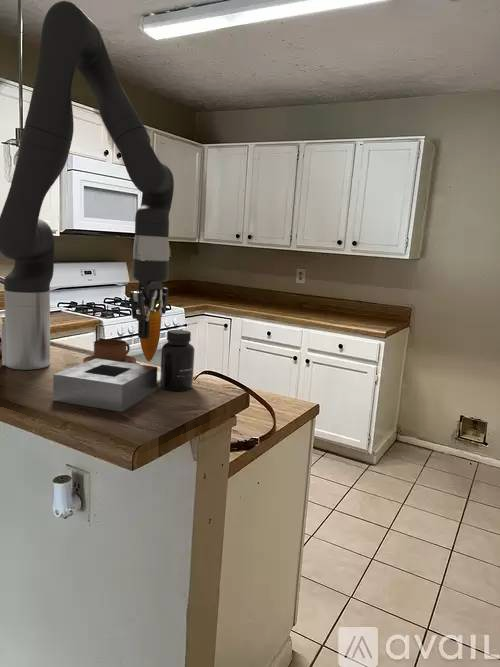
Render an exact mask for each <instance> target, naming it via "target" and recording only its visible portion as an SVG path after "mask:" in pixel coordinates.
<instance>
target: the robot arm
mask: <svg viewBox="0 0 500 667" xmlns="http://www.w3.org/2000/svg"><path fill="white" fill-rule="evenodd" d="M38 51H39V52H38V61H37V68H36V74H35V78H34V84H33V88H32V92H31V97H30V102H29V107H28V110H27V115H26V119H25V121H24V122H25V123H24V127H23V131H22V136H21V140H20V143H19V150H18V155H17V159H16V164H15V166H14V171H13V174H12V179H11V183H10V188H9V191H8V194H7V196H6V199H5V202H4V205H3V207H2V210H1V213H0V253H1V255H2V256H4V257H5V258H7V259H10V260H14V265H13V268H12V270H11V272H9V273H8V275H6V276H5V277H4V280H3V289H4V295H3V296H4V322H3V323H2V324H0V325H1V327H0V328H1V329H0V332H1V361H2V362H1V364H2V366H5V367H7V368H8V369H11V370H12V369H13V370H20V371H21V370H25V371H26V370H29V371H30V370H38V369H44V368H46V367H49V366H50V365H51V318H50V317H51V307H50V305H51V304H50V303H51V301H50V299H51V298H50V297H51V296H50V295H51V294H50V286H51V282H52V279H53V276H54V270H55V269H54V268H55V267H54V266H55V265H54V264H55V238H54V233H53V231H52V228H51V226H50V225H49V224H48V223H47V222H46V221H44V220H43V219H41V218H39V217H40V213H41V211H42V210H41V209H42V206H43V203H44V199H45V198H46V195H47V193H48V192H49V190H50V189H51V188H52V186H53V185H54V184H55V182H56V181H57V179H58V178H59V176H60V175H61V173H62V172H63V171H64V168H65V166H66V164H67V161H68V158H69V155H70V149H71V145H72V142H73V136H74V127H75V126H74V123H75V122H74V111H73V102H72V101H73V99H72V86H73V81H74V75H75V73H76V72H75V71H76V70H78V72H79V74H80V75H81V76H82V78H83V79H84V80H85V82H86V83H87V85H88V87H89V88H90V90H91V92H92V94H93V96H94V99H95V101H96V106H97V107H98V108H97V109H98V111H99V114H100V118H101V121H102V123H103V124H104V126H105V128H106V130H107V132H108V134H109V136H110V137H111V139H112V141H113V143H114V144H115V146H116V148H117V150H118V151H119V153H120V155H121V158H122V161H123V165H124V167H125V169H126V172H127V174H128V176H129V178H130V180H131V182H132V183H133V185H134V187H135V188H136V189H137V190H138V191H140V192H141V202H140V207H139V208H138V209H137V210H136V212H135V217H134V240H133V248H132V249H133V250H132V254H133V256H132V259H133V260H132V278H133V279H134V280H135V281H138V286H137V290H136V291H130V293H129V297H130V307H131V316H132V319H134V320H136V321H138V323H137V325H138V326H137V328H138V329H137V337H138V338H139V339H140V338H143V339H147V338H148V337H149V318H150V312H151V311H153V308H154V304H155V302H156V301H158V300H161V303H159V304H158V305H157V306H156V307H155V309H154V311H157V312H158V313H159V314H160V315H161V318H162V317H163V315H166V311H167V310H166V309H167V305H168V304H167V303H168V296H169V288H168V287H163V283H162V282H167V281H168V280H169V270H170V266H169V265H170V243H169V242H170V240H169V234H170V230H169V229H170V211H171V209H172V208H171V207H172V202H173V198H174V190H175V189H174V187H175V182H174V175H173V172H172V171H171V169H170V168H169V166H168V165H166V164H164V163H162V162H161V161H160V159H159V158H158V156H157V155H156V152H155V150H154V148H153V147H152V145H151V141H152V140H151V138H150V135H149V133H148V131H147V129H146V126H145V125H144V124H143V122H142V119H141V118H140V116H139V114H138V113H137V110H136V108H135V107H134V106H133V103H132V102H131V100H130V99H129V97H128V95H127V93H126V92H125V89H124V87H123V86H122V83H121V82H120V79H119V78H118V76H117V73H116V71H115V69H114V66H113V63H112V61H111V59H110V58H111V57H110V55H109V53H108V49H107V47H106V45H105V42H104V39H103V37H102V34H101V31H100V29H99V28H98V25H96V23H95V22H94V21H93V20H92V19H91V18H90V17H89V16H88V15H87V13H85V12H84V11H83V10H82V9H81V8H80V7H79V6H78V5H76V4H75V3H73V2H71V1H68V0H60V1H58V2H55V3H54V4H53V5H52V6H50V8H49V9H48V10H47V12H46V14H45V16H44V19H43V23H42V29H41V33H40V44H39V50H38ZM147 305H149V306H147ZM145 311H146V314H145Z"/></svg>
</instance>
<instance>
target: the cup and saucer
mask: <svg viewBox="0 0 500 667" xmlns="http://www.w3.org/2000/svg"><path fill="white" fill-rule="evenodd" d="M130 348H131V347H130V344H129V343H127V341H126V340H122V339H115V338H104V339H103V338H102V339H98V340H95V341H94V342H93V355H88V356H86V357H84V358H83V359H82V360H83V363H85V362H88V361H91V360H93V359H96V358H97V359H104V360H111V361H118V362H126V363H133V364H137V363H136V362H137V359H136V357H133V356H131V355H128V354H129V352H130Z"/></svg>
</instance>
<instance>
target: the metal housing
mask: <svg viewBox="0 0 500 667" xmlns="http://www.w3.org/2000/svg"><path fill="white" fill-rule="evenodd" d="M157 371H158V366H153V365H145V364H138V363H135V364H133V363H126V362H118V361H111V360H104V359H97V358H96V359H93V360H91V361H88V362H85V363H84V362H83V363H79V364H78V365H75V366H72V367H69V368H67V369H64V370H61V371H59V372H56V373H54V374H53V375H52V376H53V378H52V380H53V384H52V385H53V386H52V388H53V392H52V393H53V396H52V397H53V399H52V400H53V401H54V402H55V401H56V402H59V403H60V402H61V403H66V404H72V405H78V406H83V407H85V406H86V407H91V408H97V409H102V410H109V411H113V412H121V413H123V412H124V411H126V410H127V409H129V408H131V407H133V406H134V405H136V404H137V403H139V402H140V401H142V400H144V399H146V398H147V397H149V396H150V395H152V394H153V393H155V392H157V388H158V384H157Z"/></svg>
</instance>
